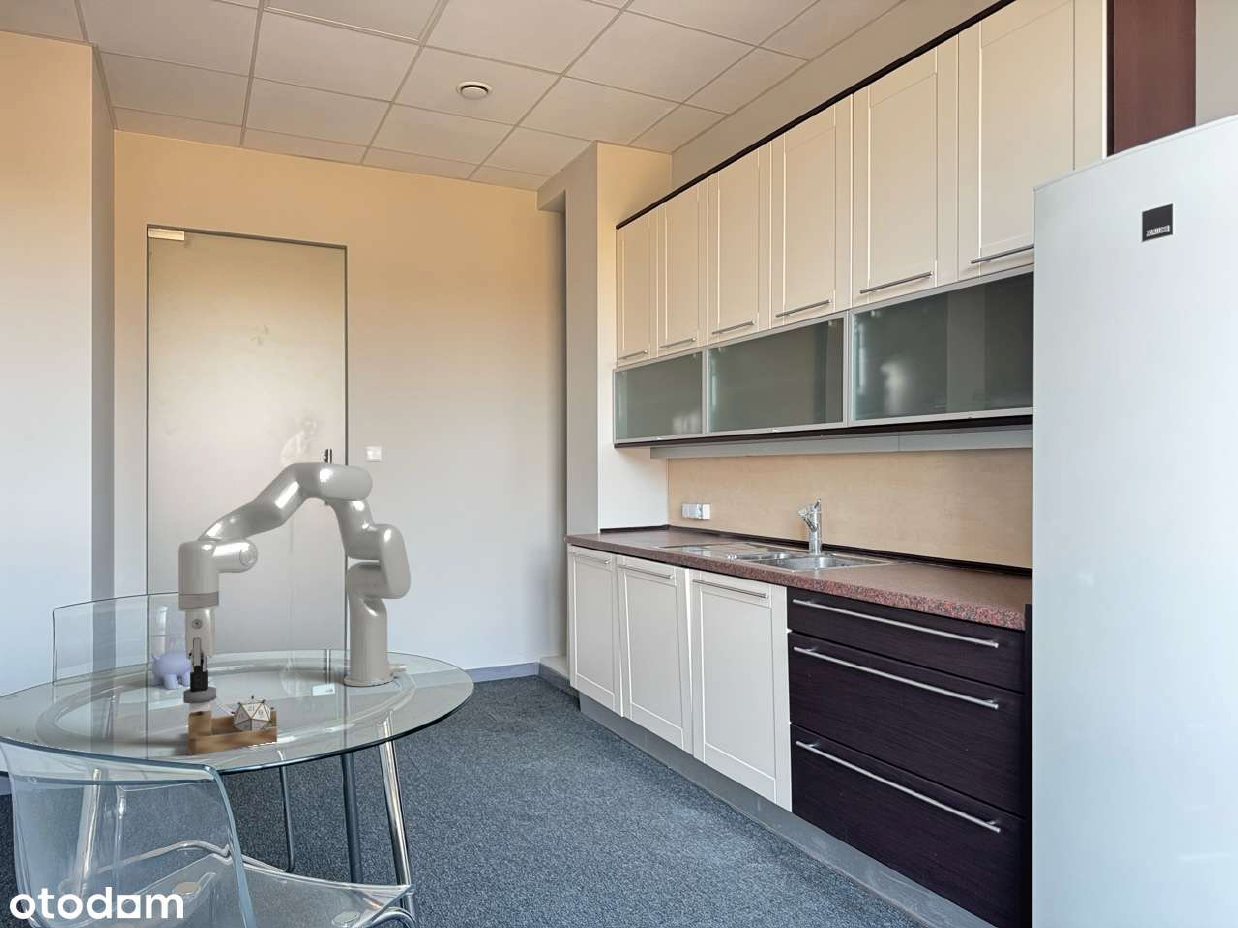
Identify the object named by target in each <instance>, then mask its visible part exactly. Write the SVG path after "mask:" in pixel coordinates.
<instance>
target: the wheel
mask: <svg viewBox="0 0 1238 928" xmlns="http://www.w3.org/2000/svg"><path fill="white" fill-rule="evenodd" d="M182 693H183V695H182V697H183V701H182V702H183V703H185V704H189V713H192V712H198V711H210V708H211V701H214V700H216V699H217V688H216V687H214V686H208V689H207V691H201V692H190V688H188V689H186V690H184V691H183V692H182Z"/></svg>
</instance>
